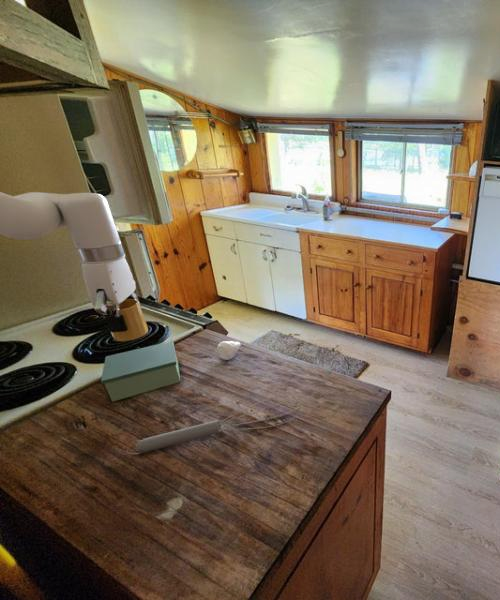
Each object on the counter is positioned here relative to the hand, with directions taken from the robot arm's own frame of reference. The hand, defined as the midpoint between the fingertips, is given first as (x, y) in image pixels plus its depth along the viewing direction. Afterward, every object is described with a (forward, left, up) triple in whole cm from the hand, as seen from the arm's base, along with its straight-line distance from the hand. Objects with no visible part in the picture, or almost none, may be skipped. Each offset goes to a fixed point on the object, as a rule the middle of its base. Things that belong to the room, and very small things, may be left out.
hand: (127, 322), depth 78 cm
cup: (0, 0, -3) cm, 3 cm away
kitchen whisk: (+23, -24, -17) cm, 37 cm away
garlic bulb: (+19, +8, -17) cm, 27 cm away
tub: (0, 0, -17) cm, 17 cm away
